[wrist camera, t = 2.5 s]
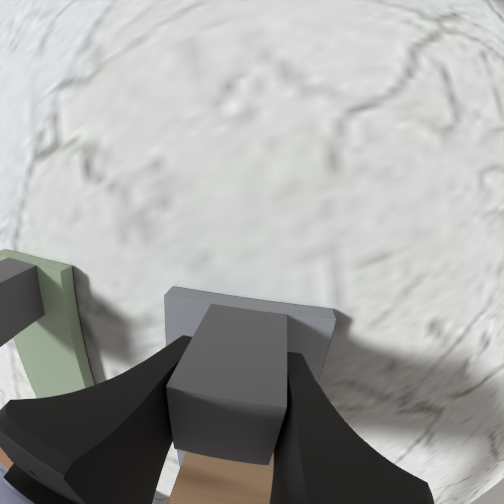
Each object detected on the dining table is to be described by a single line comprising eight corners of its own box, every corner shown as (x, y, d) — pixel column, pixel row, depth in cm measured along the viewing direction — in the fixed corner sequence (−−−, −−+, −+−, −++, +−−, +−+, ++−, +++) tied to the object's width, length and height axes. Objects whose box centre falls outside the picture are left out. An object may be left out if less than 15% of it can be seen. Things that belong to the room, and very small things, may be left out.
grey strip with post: (270, 492, 16) (264, 550, 11) (186, 478, 17) (168, 533, 11) (332, 308, 12) (363, 410, 6) (172, 286, 12) (100, 365, 6)
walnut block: (263, 484, 15) (256, 541, 10) (193, 473, 15) (176, 526, 10) (274, 452, 13) (268, 522, 8) (190, 438, 14) (167, 504, 9)
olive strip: (121, 457, 17) (96, 505, 12) (61, 429, 18) (32, 467, 12) (71, 265, 13) (-12, 311, 7) (4, 248, 13) (-61, 277, 7)
